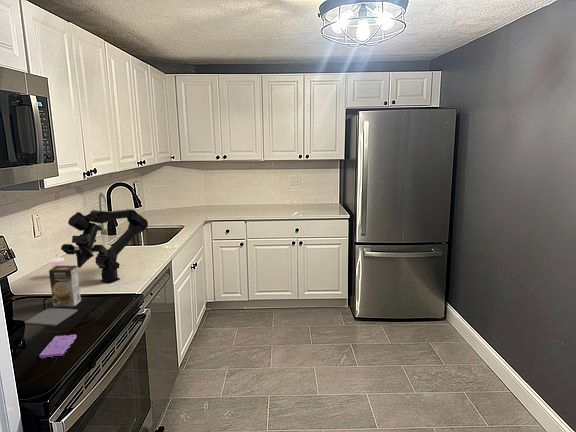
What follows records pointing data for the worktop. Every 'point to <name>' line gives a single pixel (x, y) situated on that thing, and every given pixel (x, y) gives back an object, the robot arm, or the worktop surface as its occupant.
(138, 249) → the worktop surface
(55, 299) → the coffee box
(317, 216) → the worktop surface
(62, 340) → the sponges
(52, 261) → the beverage cup
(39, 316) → the tipping mat
